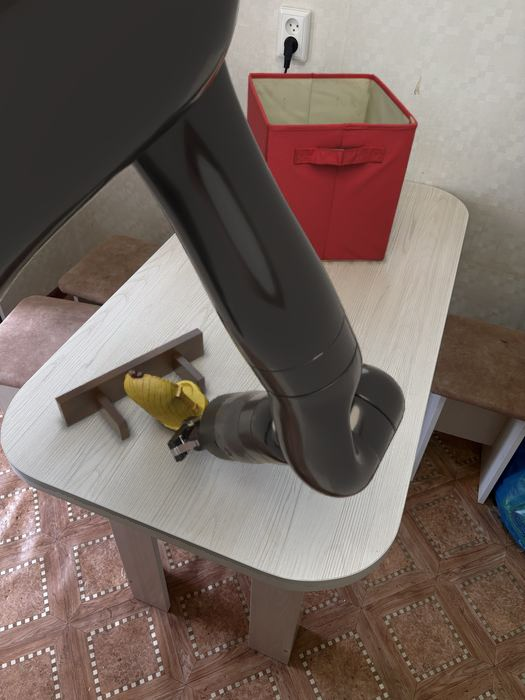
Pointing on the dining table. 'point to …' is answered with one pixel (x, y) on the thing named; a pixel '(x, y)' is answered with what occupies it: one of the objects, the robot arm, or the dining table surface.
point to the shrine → (165, 398)
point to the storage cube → (334, 155)
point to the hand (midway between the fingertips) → (188, 426)
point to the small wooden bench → (111, 384)
